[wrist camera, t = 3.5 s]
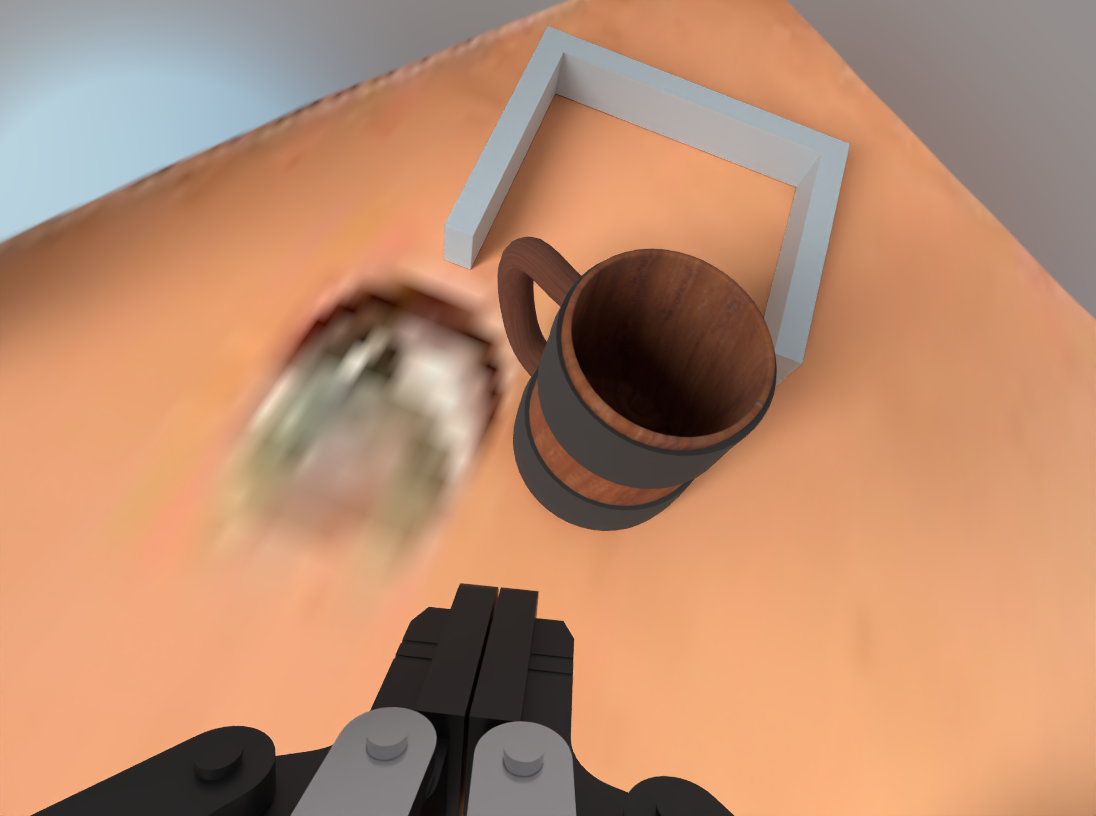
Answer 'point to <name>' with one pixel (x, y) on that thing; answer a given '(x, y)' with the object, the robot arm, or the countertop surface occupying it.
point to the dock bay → (685, 119)
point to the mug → (630, 378)
